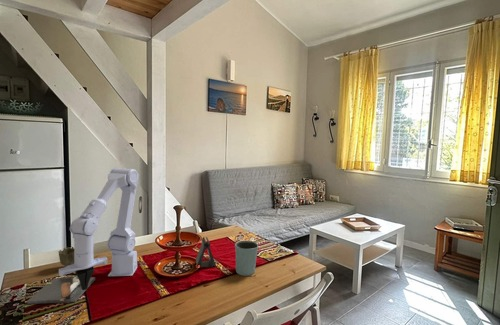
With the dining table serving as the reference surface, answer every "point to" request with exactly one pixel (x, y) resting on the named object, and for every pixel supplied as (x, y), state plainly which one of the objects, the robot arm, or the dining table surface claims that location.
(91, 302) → the dining table surface
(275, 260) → the dining table surface
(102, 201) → the robot arm
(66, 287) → the lever
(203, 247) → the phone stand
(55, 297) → the lock base
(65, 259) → the cup
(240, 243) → the green tumbler
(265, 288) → the dining table surface
